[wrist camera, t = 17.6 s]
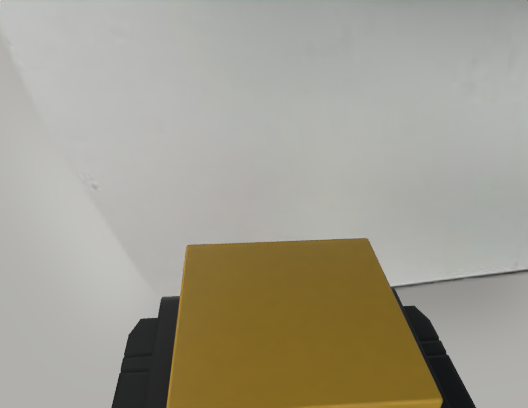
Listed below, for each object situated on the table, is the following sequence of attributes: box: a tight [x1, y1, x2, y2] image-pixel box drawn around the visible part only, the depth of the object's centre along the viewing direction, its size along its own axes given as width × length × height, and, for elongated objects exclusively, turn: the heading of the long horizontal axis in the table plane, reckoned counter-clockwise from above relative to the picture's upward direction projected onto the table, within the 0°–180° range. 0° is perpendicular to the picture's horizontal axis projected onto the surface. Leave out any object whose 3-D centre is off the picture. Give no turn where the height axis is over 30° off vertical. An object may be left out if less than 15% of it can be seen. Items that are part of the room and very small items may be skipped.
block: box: [166, 238, 443, 408], centre depth 10 cm, size 4×4×4 cm
